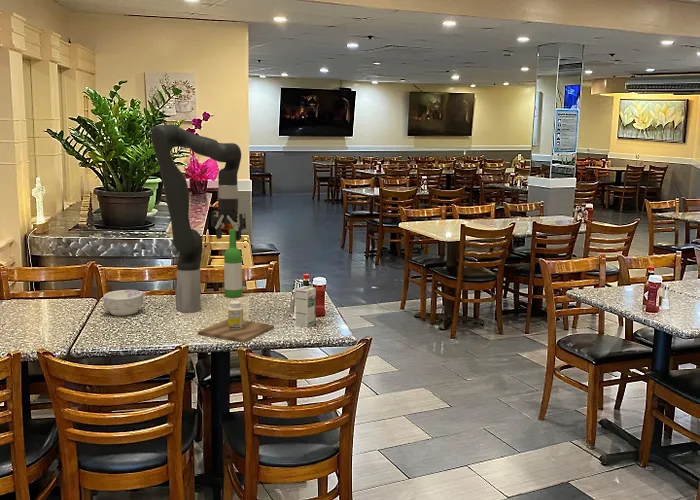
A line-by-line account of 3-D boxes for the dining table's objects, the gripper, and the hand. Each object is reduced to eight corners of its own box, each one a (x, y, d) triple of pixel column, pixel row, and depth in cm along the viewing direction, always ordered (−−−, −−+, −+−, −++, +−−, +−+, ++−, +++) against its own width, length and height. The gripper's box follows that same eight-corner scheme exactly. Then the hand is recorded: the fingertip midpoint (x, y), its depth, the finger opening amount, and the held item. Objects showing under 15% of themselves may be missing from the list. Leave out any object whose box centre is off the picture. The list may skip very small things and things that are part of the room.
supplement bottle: (236, 325, 253) (236, 299, 251) (246, 328, 250) (245, 302, 248) (225, 328, 249) (225, 302, 247) (234, 331, 246) (234, 304, 244)
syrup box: (307, 327, 256) (307, 290, 253) (294, 325, 259) (295, 288, 256) (316, 324, 261) (316, 287, 258) (303, 321, 264) (303, 285, 261)
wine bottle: (222, 297, 299) (221, 230, 294) (228, 293, 306) (227, 227, 301) (239, 298, 298) (238, 231, 293) (244, 294, 305) (244, 228, 300)
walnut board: (197, 334, 244) (197, 331, 244) (229, 321, 262) (229, 318, 262) (244, 342, 236) (244, 339, 236) (274, 328, 254) (274, 325, 254)
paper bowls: (95, 315, 267) (94, 295, 266) (121, 306, 281) (121, 287, 280) (126, 319, 262) (125, 299, 260) (151, 310, 276) (151, 291, 274)
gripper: (206, 196, 254) (207, 239, 256) (238, 198, 248) (238, 242, 250) (218, 195, 260) (219, 236, 263) (249, 197, 254) (250, 239, 257)
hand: (228, 239), depth 257 cm, fingers open, 8 cm apart
